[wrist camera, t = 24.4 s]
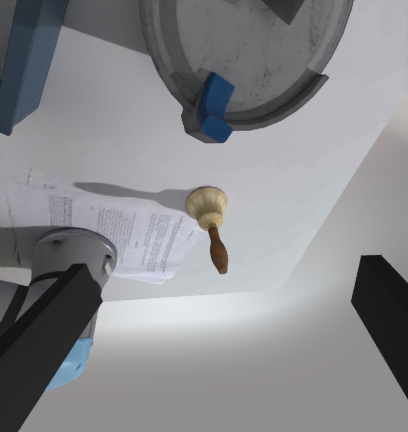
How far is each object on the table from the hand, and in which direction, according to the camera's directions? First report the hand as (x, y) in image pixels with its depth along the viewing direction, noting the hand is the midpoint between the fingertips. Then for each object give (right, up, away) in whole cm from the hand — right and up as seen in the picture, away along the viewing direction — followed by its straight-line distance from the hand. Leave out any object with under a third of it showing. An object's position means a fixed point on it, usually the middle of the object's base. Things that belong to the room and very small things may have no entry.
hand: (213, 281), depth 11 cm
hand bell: (0, +6, +34) cm, 34 cm away
